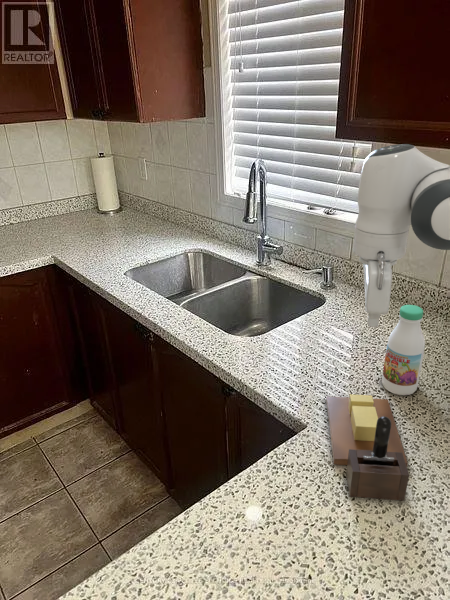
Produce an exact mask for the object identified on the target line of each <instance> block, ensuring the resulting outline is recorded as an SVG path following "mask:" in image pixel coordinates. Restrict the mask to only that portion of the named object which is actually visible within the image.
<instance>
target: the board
mask: <svg viewBox="0 0 450 600" xmlns="http://www.w3.org/2000/svg"><path fill="white" fill-rule="evenodd" d="M349 397H350V396H329V395H326V398H325V405H326V412H327V420H328V428H329V437H330V444H331V454H332V462H333V465H336V466H347V462H348V453H349V449H353V450H370V451H373V445H374V441H362V440H354V435H353V430H352V424H351V414H349V408H348V406H349ZM373 401H374V404H373V407H375V409H376V413H377V416H378V418H379V417H382V416H385V417H388V418H389V419H390V421H391V430H390V436H389V442H388V448H387V452H402V453H403V456H404V460H405V463H406V466H407V467H408V465H409V462H408V459H407V455H406V453H405V449H404V446H403V443H402V440H401V437H400V434H399V430H398V427H397V424H396V421H395V418H394V415H393V411H392V407H391V405H390V402H389V399H388V398H373Z"/></svg>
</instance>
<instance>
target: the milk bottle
mask: <svg viewBox="0 0 450 600" xmlns="http://www.w3.org/2000/svg"><path fill="white" fill-rule="evenodd" d="M423 317H424V309H423V307H420V306H418V305H415V304H403V305H401V307H400V308H399V315H398V318H399V320H398V322H397V324H396V326H395V327H394V328H393V330H392V331H391V333H390V334H389V336H388V339H387V344H386V350H385V356H384V363H383V368H382V376H381V384H382V386H383V388H384V389H385V390H386V391H388V392H389V393H392V394H393V395H398V396H410V395H412V394H414V393H415V392H416V391H417V389H418V386H419V381H420V376H421V371H422V365H423V360H424V354H425V348H426V342H425V336H424V333H423V330H422V326H421V325H422V324H421V322H422V321H423Z"/></svg>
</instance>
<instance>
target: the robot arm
mask: <svg viewBox="0 0 450 600" xmlns="http://www.w3.org/2000/svg"><path fill="white" fill-rule="evenodd" d="M357 206H358V213H357V214H358V215H357V218H356V221H355V224H354V233H353V235H354V236H353V245H352V246H353V247H352V252H353V253H354V255H356V256H358V257H359V259H358V261H359V262H360V263H362V265H363V266H362V267H363V279H364V280H363V283H364V285H363V287H364V304H365V305H364V306H365V307H364V308H365V313H366V314H367V326H368V327H370V328H377V327H379V323H380V319H381V315H388V313H389V311H390V310H389V309H390V304H391V295H392V284H393V270H392V267H393V266H395V265H396V264H397V263H398V260H400V259H402V258H404V257H405V256H406V253H407V247H408V240H409V233H410V227H412V228H411V229H412V231H413V233H414V235H415V236H416V237H417V238H418V240H419V241H421V242H422V243H423V244H424V245H426V246H428V247H429V248H433V249H436V250H440V251H441V250H442V251H450V164H447V163H445V162H441V161H438V160H436V159H434V158H433V157H430V156H428V155H427V154H425V153H423V152H422V151H420V150H419V149H418V148H417V147H416V146H415V145H413V144H409V143H402V144H399V143H398V144H392V145H385V146H382V147H380V148H376V149H374V150H373V151H372V152H370V153H369V154H368V155H367V156H366V157H365V159H364V161H363V164H362V168H361V171H360V176H359V184H358V190H357Z"/></svg>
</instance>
